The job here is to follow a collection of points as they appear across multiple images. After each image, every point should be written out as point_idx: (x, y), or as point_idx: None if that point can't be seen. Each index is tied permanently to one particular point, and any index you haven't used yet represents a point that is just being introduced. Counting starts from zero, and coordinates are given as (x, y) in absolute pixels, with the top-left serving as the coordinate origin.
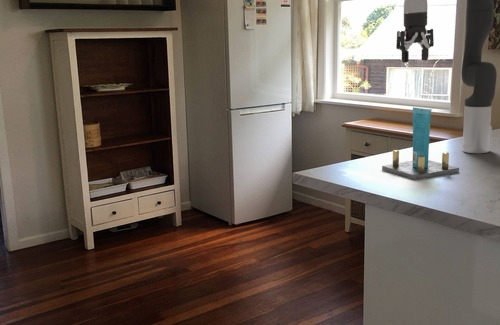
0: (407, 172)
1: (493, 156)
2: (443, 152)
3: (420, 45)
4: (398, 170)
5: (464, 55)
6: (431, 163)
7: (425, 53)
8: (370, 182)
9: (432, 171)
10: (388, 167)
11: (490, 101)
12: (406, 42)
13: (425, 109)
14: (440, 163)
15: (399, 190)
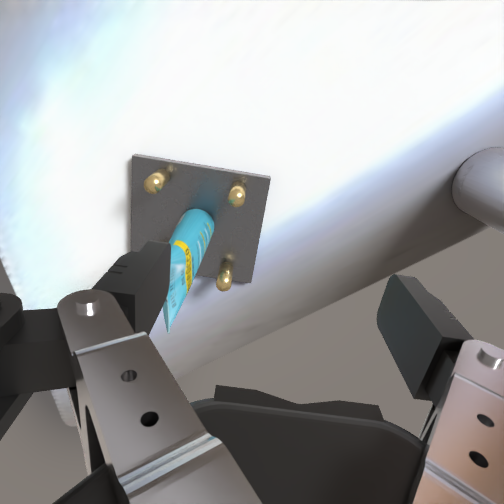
0: (134, 239)
1: (444, 245)
2: (224, 278)
3: (454, 369)
4: (131, 215)
5: None
6: (242, 222)
7: (399, 354)
8: (43, 213)
9: None
10: (132, 179)
11: None
12: (84, 425)
13: (167, 311)
14: (256, 236)
15: (59, 284)
